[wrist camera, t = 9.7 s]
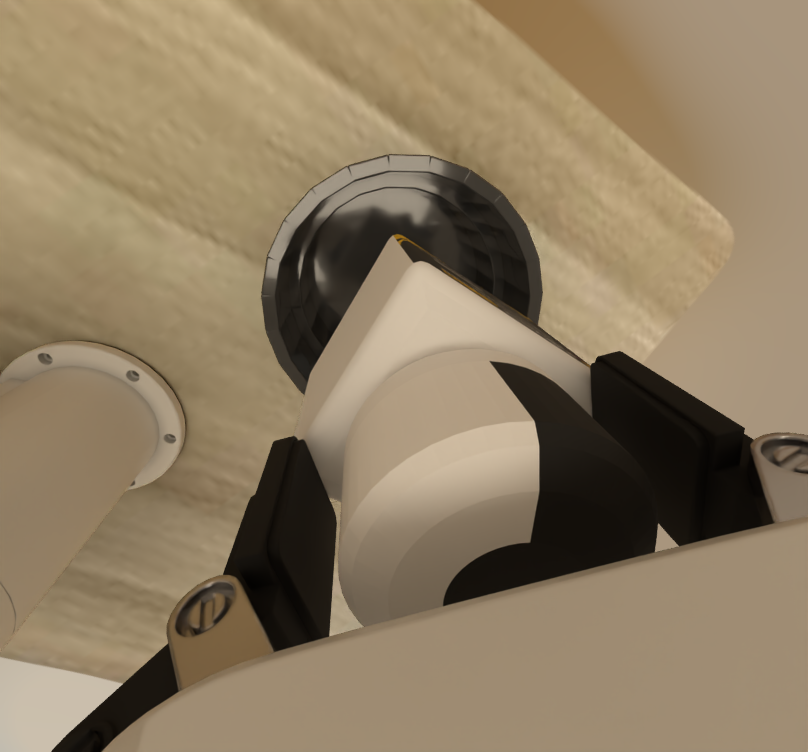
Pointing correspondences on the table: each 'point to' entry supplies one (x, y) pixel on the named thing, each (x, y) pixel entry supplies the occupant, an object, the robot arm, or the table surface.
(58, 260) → the table surface
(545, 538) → the medicine bottle
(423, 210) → the bucket
